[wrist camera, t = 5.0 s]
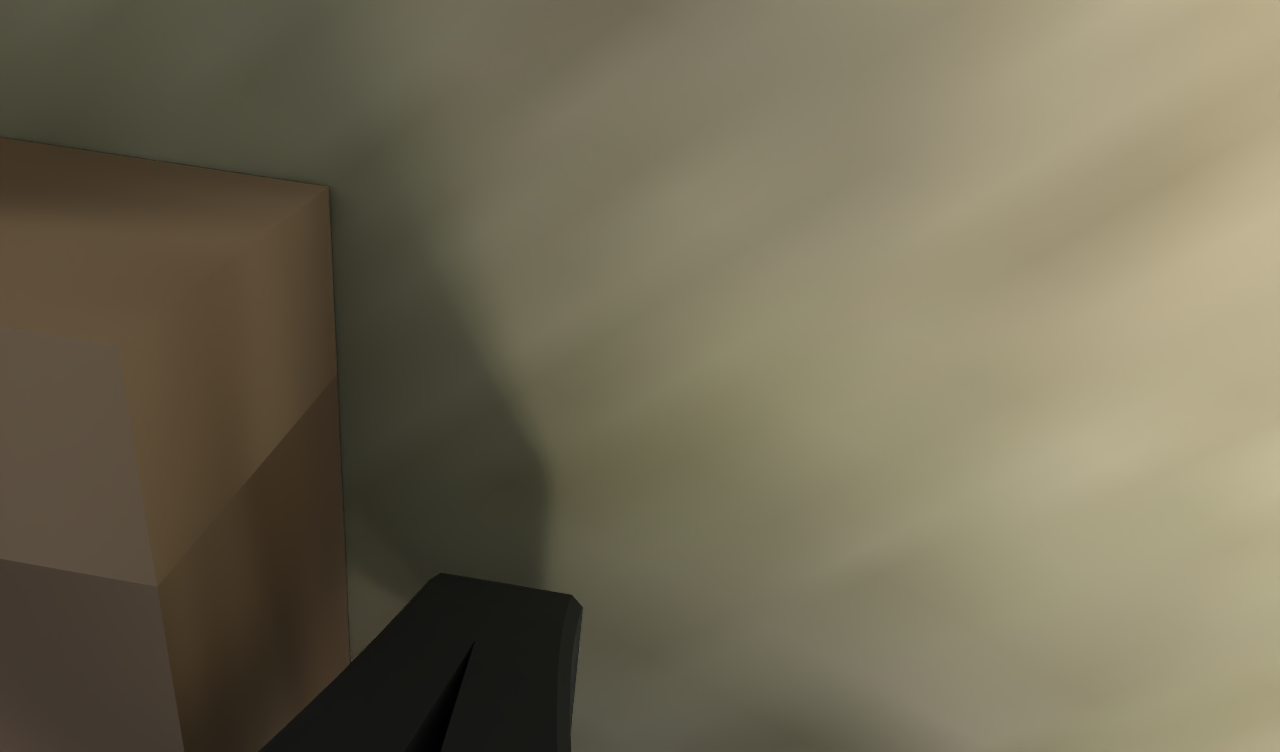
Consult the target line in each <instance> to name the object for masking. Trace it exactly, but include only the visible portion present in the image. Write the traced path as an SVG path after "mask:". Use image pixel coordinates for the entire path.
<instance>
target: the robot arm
mask: <svg viewBox="0 0 1280 752" xmlns="http://www.w3.org/2000/svg"><path fill="white" fill-rule="evenodd" d="M582 610H583V607H582V606H581V605H580V603H579V602H578V601H577V600H576V599H575V598H574V597H573V596H572V595H569V594H564V593H558V592H552V591H546V590H540V589H534V588H528V587H522V586H517V585H511V584H505V583H499V582H493V581H487V580H481V579H475V578H469V577H464V576H458V575H452V574H446V573H440V574H438V575H437V576H435V577H434V578H432V579H430V580H429V581H428V582H427V583H426V584H425V585H424V586H423V588H422V589H421V590H420V591H419V592H418V593H417V594H416V595H415V596H414V597H413V599H412V600H411V601H410V602H409V603H408V604H407V605H406V606H405V607H404V608H403V609H402V610H401V611H400V613H399V614H398V615H397V616H396V617H395V618H394V619H393V620H392V621H391V622H390V623H389V624H388V625H387V626H386V627H385V628H384V630H383V631H382V632H381V633H380V634H379V635H378V636H377V637H376V638H375V639H374V640H373V641H372V642H371V643H370V644H369V645H368V646H367V647H366V648H365V649H364V650H363V651H362V652H361V653H360V654H359V655H358V656H357V657H356V658H355V659H354V660H353V661H352V662H351V663H350V664H349V665H348V666H347V667H346V668H345V669H344V670H343V671H342V672H341V673H340V674H339V675H338V676H337V677H336V678H335V679H334V680H333V681H332V682H331V683H330V684H329V685H328V686H327V687H326V688H325V689H324V690H323V691H322V692H321V693H320V694H319V695H317V696H316V697H315V698H314V699H313V700H312V701H311V702H310V703H309V704H308V705H307V706H306V707H305V708H304V709H303V710H302V711H301V712H300V713H299V714H297V715H296V716H295V717H294V718H293V719H292V720H291V721H290V722H289V723H288V724H287V725H286V726H285V727H284V728H283V729H282V730H281V731H280V732H279V733H278V734H276V735H275V736H274V737H273V738H272V739H271V740H270V741H269V742H268V743H267V744H266V745H265V746H263V747H262V748H261V749H260V750H259V751H258V752H571V735H570V733H571V723H572V713H573V702H574V692H575V682H576V672H577V661H578V651H579V641H580V631H581V620H582Z"/></svg>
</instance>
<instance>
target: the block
mask: <svg viewBox="0 0 1280 752" xmlns="http://www.w3.org/2000/svg"><path fill="white" fill-rule="evenodd" d="M349 664H350V650H349V628H348V605H347V583H346V560H345V538H344V516H343V493H342V471H341V448H340V426H339V403H338V381H337V359H336V336H335V314H334V291H333V269H332V246H331V224H330V202H329V187H327V186H321V185H314V184H307V183H301V182H294V181H287V180H281V179H274V178H267V177H261V176H254V175H247V174H241V173H234V172H227V171H221V170H214V169H207V168H201V167H194V166H187V165H181V164H174V163H167V162H160V161H154V160H147V159H140V158H134V157H127V156H120V155H114V154H107V153H100V152H94V151H87V150H80V149H74V148H67V147H60V146H54V145H47V144H40V143H34V142H27V141H20V140H14V139H7V138H0V752H258V751H259V750H260V749H261V748H262V747H263V746H265V745H266V744H267V743H268V742H269V741H270V740H271V739H272V738H273V737H274V736H275V735H276V734H278V733H279V732H280V731H281V730H282V729H283V728H284V727H285V726H286V725H287V724H288V723H289V722H290V721H291V720H292V719H293V718H294V717H295V716H296V715H297V714H299V713H300V712H301V711H302V710H303V709H304V708H305V707H306V706H307V705H308V704H309V703H310V702H311V701H312V700H313V699H314V698H315V697H316V696H317V695H319V694H320V693H321V692H322V691H323V690H324V689H325V688H326V687H327V686H328V685H329V684H330V683H331V682H332V681H333V680H334V679H335V678H336V677H337V676H338V675H339V674H340V673H341V672H342V671H343V670H344V669H345V668H346V667H347V666H348V665H349Z"/></svg>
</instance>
